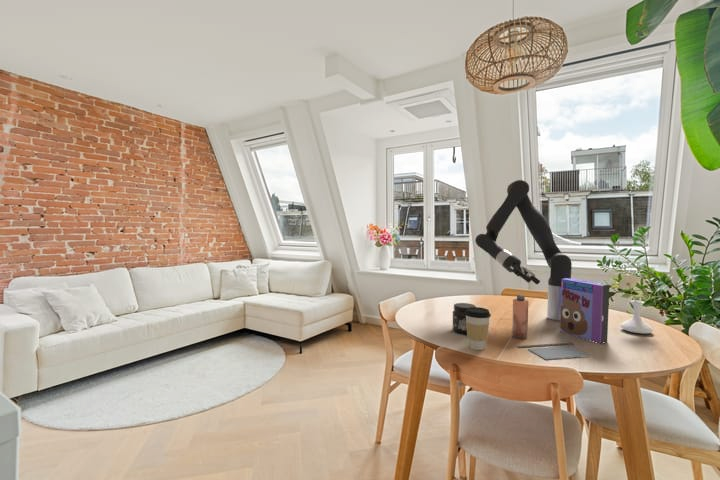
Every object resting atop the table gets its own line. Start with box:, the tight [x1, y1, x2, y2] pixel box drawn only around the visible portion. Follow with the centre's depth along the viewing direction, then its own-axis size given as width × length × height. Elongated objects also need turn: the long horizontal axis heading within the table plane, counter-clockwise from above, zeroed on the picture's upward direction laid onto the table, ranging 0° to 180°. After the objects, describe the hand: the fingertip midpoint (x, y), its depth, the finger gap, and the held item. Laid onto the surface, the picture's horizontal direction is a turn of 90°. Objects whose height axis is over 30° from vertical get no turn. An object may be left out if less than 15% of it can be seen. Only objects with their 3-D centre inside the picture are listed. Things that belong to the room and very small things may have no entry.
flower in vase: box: [617, 275, 654, 335], centre depth 156 cm, size 13×11×25 cm
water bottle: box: [511, 294, 529, 340], centre depth 149 cm, size 6×6×18 cm
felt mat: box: [527, 345, 590, 361], centre depth 131 cm, size 18×10×1 cm, turn 99°
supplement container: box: [452, 302, 477, 336], centre depth 156 cm, size 10×10×12 cm
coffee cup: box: [464, 306, 492, 351], centre depth 137 cm, size 10×10×15 cm
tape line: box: [516, 342, 574, 349], centre depth 139 cm, size 24×1×1 cm, turn 99°
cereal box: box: [559, 278, 610, 344], centre depth 149 cm, size 17×5×24 cm, turn 23°
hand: (534, 282), depth 158 cm, fingers open, 8 cm apart
